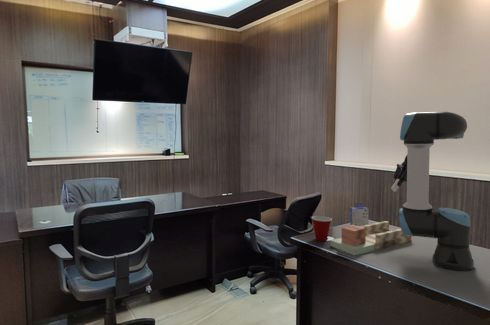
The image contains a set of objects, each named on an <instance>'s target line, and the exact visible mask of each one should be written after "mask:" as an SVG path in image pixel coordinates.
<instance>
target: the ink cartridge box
mask: <svg viewBox="0 0 490 325" xmlns="http://www.w3.org/2000/svg"><path fill="white" fill-rule="evenodd" d="M369 210H370V209H369V208H368V207H366V206H363V204H362V203H355V207H349V225H356V226H364V225H369V224H370V223H369V222H370V220H369V215H370V214H369Z"/></svg>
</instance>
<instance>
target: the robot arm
mask: <svg viewBox="0 0 490 325" xmlns="http://www.w3.org/2000/svg"><path fill="white" fill-rule="evenodd" d="M400 126H401V127H400V132H399V133H400V135H399V139H400V141H403V145H404V146H405V147H406V148H407V149H406V150H407V152H406V153H407V154H406V156H405V157H404V161H403V162H402V163H400V164H399V163H397V164H396V169H395V171H394V174H393V179H394V181H393V182H392V186H391V187H390V189H391V190H392V191H393V192H395V193H396V192H397V190H398V189H399V187H401V186H402V184H403V183H404V182H406V202H404V203H403V204H402V207H401V208H399V209H398V214H399V224H400V229H401V231H402V232H403V234H405V235H411V236H412V237H421V238H430V239H437V242H436V243H437V244H436V247H435V249H434V253H433V254H432V256H431V257H432V258H431V259H432V260H431V261H432V263H433V264H434V265H436V266H438V267H439V268H442V269H447V270H451V271H463V272H464V271H465V272H467V271H472V270H473V269H474V266H475V261H474V259H473V257H472V256H473V255H472V252H471V250H470V238H471V236H470V234H471V233H470V232H471V231H470V230H471V229H470V228H471V218H470V215H469V214H468V213H467V212H465V211H462V210H461V209H455V208H452V207H451V208H450V207H438V209H437V210H433V206H432V205H431V204H430V200H429V195H430V194H429V193H430V154H431V153H430V152H431V151H430V149H431V148H432V146H433V145H434V144H435V142H434V141H436V140H448V139H449V140H450V139H451V140H453V139H454V140H459V139H463V138H464V135H465V133H466V132H467V131H466V130H467V128H468V122H467V120H466V119H465V118H464V116H461V115H460V114H457V113H454V112H449V111H429V112H428V111H426V112H425V111H424V112H410V113H409V112H408V113H406V114H405V115H403V117H402V122H401V125H400Z"/></svg>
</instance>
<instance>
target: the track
mask: <svg viewBox="0 0 490 325" xmlns="http://www.w3.org/2000/svg"><path fill="white" fill-rule="evenodd" d="M359 227H363V228H366V242H369V243H372V244H374V251H378V250H381V249H386V248H390V247H394V246H397V245H398V246H399V245H400V244H404V243H410V242H412V240H413V239H412V237H413V236H411V235H405V234H403V232H402V231H401V228H397V229H392V228H390V221H388V220H385V221H383V220H382V221H380V222H374V223H369V225H364V226H359Z"/></svg>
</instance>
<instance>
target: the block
mask: <svg viewBox="0 0 490 325" xmlns="http://www.w3.org/2000/svg"><path fill="white" fill-rule="evenodd" d="M341 238H342V243H345V244H348V245H351V246H358V245H361V244H365V243H366V228H363V227H359V226H356V225H350V224H349V225H346V226H342V227H341Z"/></svg>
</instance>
